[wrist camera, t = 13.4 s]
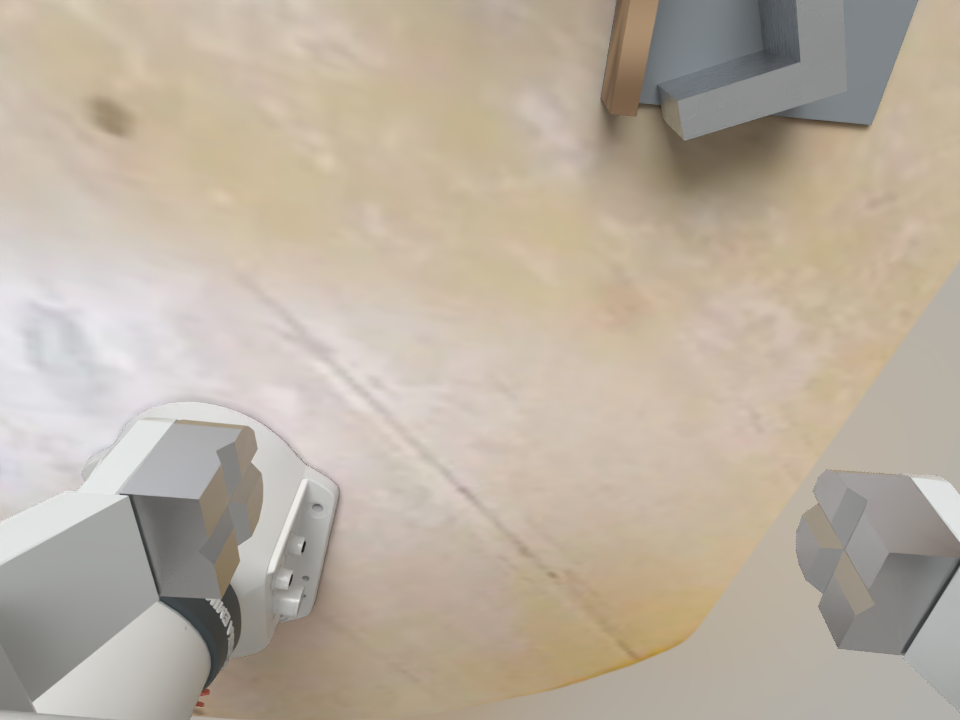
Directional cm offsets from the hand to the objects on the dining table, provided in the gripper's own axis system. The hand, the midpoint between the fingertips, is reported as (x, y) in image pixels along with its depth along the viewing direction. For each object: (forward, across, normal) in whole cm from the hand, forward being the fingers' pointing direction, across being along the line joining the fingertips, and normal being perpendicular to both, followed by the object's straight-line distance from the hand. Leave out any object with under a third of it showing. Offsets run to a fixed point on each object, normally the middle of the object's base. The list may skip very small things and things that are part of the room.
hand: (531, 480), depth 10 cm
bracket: (+29, -9, -5) cm, 31 cm away
